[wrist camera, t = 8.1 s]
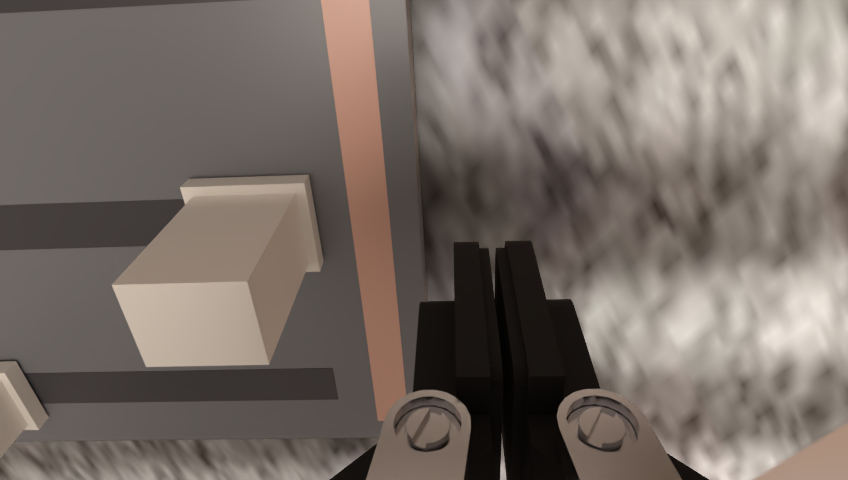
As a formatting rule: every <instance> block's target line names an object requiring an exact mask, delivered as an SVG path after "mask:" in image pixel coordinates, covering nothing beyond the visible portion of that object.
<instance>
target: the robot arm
mask: <svg viewBox="0 0 848 480" xmlns="http://www.w3.org/2000/svg"><path fill="white" fill-rule="evenodd" d="M454 291H455V301H433V302H420V304H419V316H418V329H417V342H416V356H415V369H414V382H413V392H412V393H409V394H407V395H406V396H404V397H402V398H400V399H399V400H398V401H397V402H396V403H395V404H394V405H393V406H391V408H390V409H389V411H388V413H387V415H386V417H385V420H384V423H383V427H382V430H381V433H380V436H379V439H378V443H377V444H376V445H375V446H373V447H372V448H371V449H369V450H368V451H367V452H365V453H364V454H363V455H361V456H360V457H359V458H358V459H356V460H355V461H354V462H352V463H351V464H350V465H348V466H347V467H346V468H344V469H343V470H342V471H340V472H339V473H338V474H337V475H335V476H334V477H333V478H331V479H330V480H500V463H501V436H502V438H503V448H504V457H505V467H506V477H507V480H709V479H707V478H705V477H704V476H702V475H701V474H699V473H697V472H696V471H694V470H693V469H691V468H690V467H688V466H686V465H685V464H683V463H682V462H680V461H678V460H677V459H675V458H674V457H672V456H670V455H669V454H667V453H666V451H665V450H664V448H663V446H662V444H661V443H660V441H659V439H658V438H657V436H656V434H655V432H654V431H653V429H652V427H651V426H650V424H649V422H648V420H647V419H646V417H645V416H644V414H643V413H642V412H641V411H640V409H639V408H638V407H637V406H636V405H635V404H633V403H632V402H631V401H629V400H628V399H627V398H625V397H623V396H621V395H618V394H616V393H614V392H611V391H606V390H602V389H600V386H599V383H598V380H597V377H596V374H595V371H594V368H593V364H592V361H591V358H590V355H589V352H588V349H587V346H586V342H585V339H584V336H583V333H582V330H581V327H580V324H579V321H578V317H577V314H576V311H575V308H574V305H573V303H572V301H571V300H570V299H557V300H546V297H545V293H544V289H543V285H542V281H541V277H540V273H539V269H538V265H537V261H536V257H535V253H534V249H533V245H532V242H531V241H506V242H505V248H496V254H495V299H494V291H493V283H492V274H491V266H490V257H489V249H488V248H479V243H478V242H454Z"/></svg>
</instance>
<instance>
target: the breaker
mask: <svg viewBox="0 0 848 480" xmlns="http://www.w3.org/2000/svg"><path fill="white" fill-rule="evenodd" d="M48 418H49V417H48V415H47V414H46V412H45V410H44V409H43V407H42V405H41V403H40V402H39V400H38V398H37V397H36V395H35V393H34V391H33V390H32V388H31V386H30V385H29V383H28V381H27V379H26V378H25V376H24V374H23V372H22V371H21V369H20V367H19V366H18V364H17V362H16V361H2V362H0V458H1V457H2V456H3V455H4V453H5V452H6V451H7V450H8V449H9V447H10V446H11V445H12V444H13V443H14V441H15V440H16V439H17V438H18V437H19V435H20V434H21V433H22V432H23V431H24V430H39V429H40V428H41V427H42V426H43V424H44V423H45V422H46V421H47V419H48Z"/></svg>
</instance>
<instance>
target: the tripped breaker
mask: <svg viewBox="0 0 848 480" xmlns="http://www.w3.org/2000/svg"><path fill="white" fill-rule="evenodd" d="M180 190H181V193H182V196H183V200H184V203H185V206H184V207H183V208H182V209H181V210H180V211H179V212H178V213H177V214H176V215H175V216H174V218H173V219H172V220H171V221H170V222H169V223H168V224H167V225H166V226H165V227H164V228H163V230H162V231H161V232H160V233H159V234H158V235H157V236H156V237H155V238H154V239H153V240H152V241H151V243H150V244H149V245H148V246H147V247H146V248H145V249H144V250H143V251H142V252H141V253H140V255H139V256H138V257H137V258H136V259H135V260H134V261H133V262H132V263H131V264H130V265H129V266H128V268H127V269H126V270H125V271H124V272H123V273H122V274H121V275H120V276H119V277H118V278H117V280H116V281H115V282H114V283H113V284H112V287H113V290H114V292H115V294H116V297H117V299H118V301H119V304H120V306H121V309H122V311H123V313H124V316H125V318H126V321H127V323H128V325H129V328H130V330H131V332H132V335H133V337H134V340H135V342H136V344H137V347H138V349H139V351H140V354H141V356H142V359H143V361H144V363H145V366H146V367H174V366H231V365H269V364H270V362H271V359H272V356H273V354H274V351H275V349H276V346H277V344H278V341H279V339H280V336H281V334H282V331H283V328H284V326H285V323H286V321H287V318H288V316H289V313H290V311H291V308H292V306H293V303H294V300H295V298H296V295H297V293H298V290H299V288H300V285H301V283H302V280H303V278H304V275H305V273H306V272H320V270H321V267H322V265H323V262H324V260H323V254H322V248H321V243H320V237H319V231H318V225H317V219H316V213H315V208H314V202H313V196H312V190H311V184H310V179H309V175H283V176H255V177H226V178H198V179H188V180H187V181H186V182H185V183H184V184H183V185H182V186H181V187H180Z"/></svg>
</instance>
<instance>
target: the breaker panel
mask: <svg viewBox="0 0 848 480" xmlns="http://www.w3.org/2000/svg"><path fill="white" fill-rule="evenodd" d="M283 175H309V179H310V184H311V190H312V196H313V202H314V208H315V213H316V219H317V225H318V231H319V237H320V243H321V248H322V254H323V260H324V262H323V265H322V267H321V270H320V272H306V273H305V275H304V278H303V280H302V283H301V285H300V288H299V290H298V293H297V295H296V298H295V300H294V303H293V306H292V308H291V311H290V313H289V316H288V318H287V321H286V323H285V326H284V328H283V331H282V334H281V336H280V339H279V341H278V344H277V346H276V349H275V351H274V354H273V356H272V359H271V362H270V364H269V365H231V366H174V367H146V366H145V363H144V361H143V359H142V356H141V354H140V351H139V349H138V347H137V344H136V342H135V340H134V337H133V335H132V332H131V330H130V328H129V325H128V323H127V321H126V318H125V316H124V313H123V311H122V309H121V306H120V304H119V301H118V299H117V297H116V294H115V292H114V290H113V287H112V284H113V283H114V282H115V281H116V280H117V278H118V277H119V276H120V275H121V274H122V273H123V272H124V271H125V270H126V269H127V268H128V266H129V265H130V264H131V263H132V262H133V261H134V260H135V259H136V258H137V257H138V256H139V255H140V253H141V252H142V251H143V250H144V249H145V248H146V247H147V246H148V245H149V244H150V243H151V241H152V240H153V239H154V238H155V237H156V236H157V235H158V234H159V233H160V232H161V231H162V230H163V228H164V227H165V226H166V225H167V224H168V223H169V222H170V221H171V220H172V219H173V218H174V216H175V215H176V214H177V213H178V212H179V211H180V210H181V209H182V208H183V207H184V206H185V203H184V200H183V196H182V193H181V190H180V187H181V186H182V185H183V184H184V183H185V182H186V181H187V180H188V179H198V178H226V177H255V176H283ZM420 302H428V299H427V282H426V265H425V248H424V231H423V214H422V196H421V179H420V162H419V145H418V128H417V111H416V94H415V77H414V59H413V42H412V25H411V8H410V0H0V362H2V361H16V362H17V364H18V366H19V367H20V369H21V371H22V372H23V374H24V376H25V378H26V379H27V381H28V383H29V385H30V386H31V388H32V390H33V391H34V393H35V395H36V397H37V398H38V400H39V402H40V403H41V405H42V407H43V409H44V410H45V412H46V414H47V415H48V417H49V418H48V419H47V421H46V422H45V423H44V424H43V426H42V427H41V428H40V429H39V430H24V431H23V432H22V433H21V434H20V435H19V437H18V438H17V439H16V440H15V441H14V442H17V441H113V440H208V439H303V438H379V436H380V433H381V430H382V427H383V423H384V420H385V417H386V415H387V413H388V411H389V409H390V408H391V406H393V405H394V404H395V403H396V402H397V401H398V400H399V399H400V398H402V397H404V396H406V395H407V394H409V393H412V392H413V382H414V369H415V356H416V342H417V329H418V316H419V304H420Z"/></svg>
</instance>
